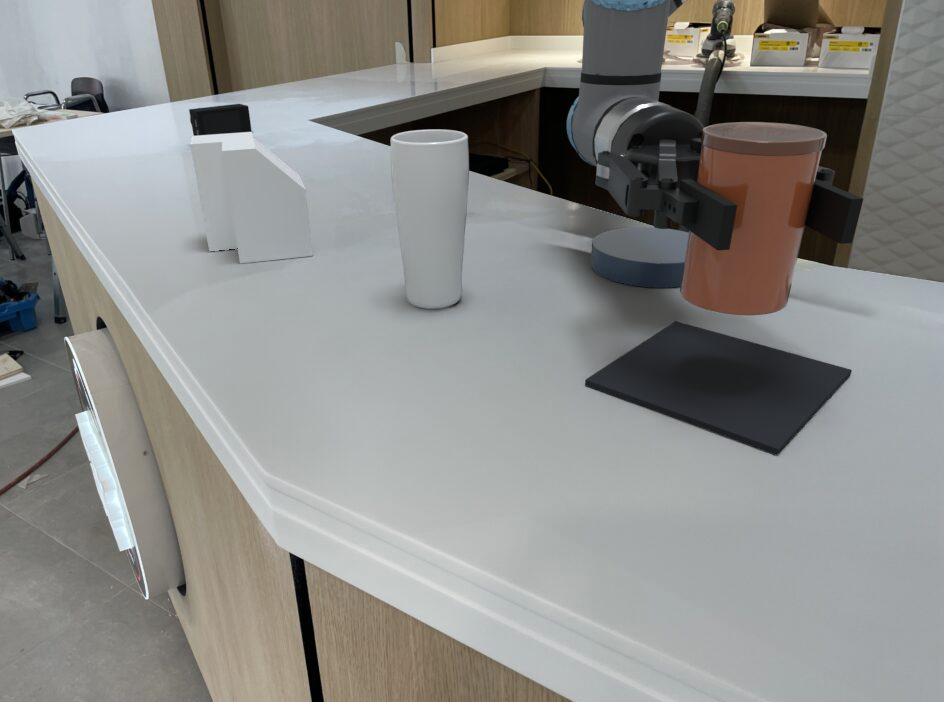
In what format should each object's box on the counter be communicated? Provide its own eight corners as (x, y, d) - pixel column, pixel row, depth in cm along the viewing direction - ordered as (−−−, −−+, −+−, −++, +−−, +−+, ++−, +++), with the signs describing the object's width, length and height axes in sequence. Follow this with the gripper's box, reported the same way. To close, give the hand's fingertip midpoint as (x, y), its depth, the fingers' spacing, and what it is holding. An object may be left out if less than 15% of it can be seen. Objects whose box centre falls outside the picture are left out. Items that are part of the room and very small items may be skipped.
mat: (850, 375, 54) (852, 369, 54) (777, 455, 45) (778, 449, 45) (674, 326, 63) (675, 320, 62) (584, 385, 54) (585, 379, 54)
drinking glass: (389, 311, 67) (379, 142, 60) (408, 285, 73) (401, 128, 66) (461, 316, 66) (459, 144, 59) (475, 289, 71) (475, 129, 64)
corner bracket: (210, 238, 89) (191, 135, 83) (303, 229, 91) (292, 128, 85) (208, 266, 79) (188, 153, 74) (312, 255, 82) (300, 145, 76)
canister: (804, 293, 51) (844, 129, 46) (763, 325, 46) (801, 146, 41) (706, 271, 55) (731, 118, 50) (659, 298, 51) (682, 133, 46)
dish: (730, 264, 76) (734, 241, 75) (675, 297, 68) (679, 272, 67) (627, 242, 83) (630, 220, 82) (567, 270, 76) (569, 246, 74)
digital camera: (242, 139, 149) (237, 102, 145) (253, 142, 145) (248, 105, 141) (193, 145, 143) (186, 108, 140) (203, 149, 139) (196, 111, 136)
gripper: (752, 188, 66) (929, 275, 46) (536, 198, 65) (620, 293, 44) (769, 99, 62) (968, 152, 42) (540, 108, 61) (633, 167, 41)
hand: (789, 224), depth 43 cm, fingers closed on canister, 7 cm apart
